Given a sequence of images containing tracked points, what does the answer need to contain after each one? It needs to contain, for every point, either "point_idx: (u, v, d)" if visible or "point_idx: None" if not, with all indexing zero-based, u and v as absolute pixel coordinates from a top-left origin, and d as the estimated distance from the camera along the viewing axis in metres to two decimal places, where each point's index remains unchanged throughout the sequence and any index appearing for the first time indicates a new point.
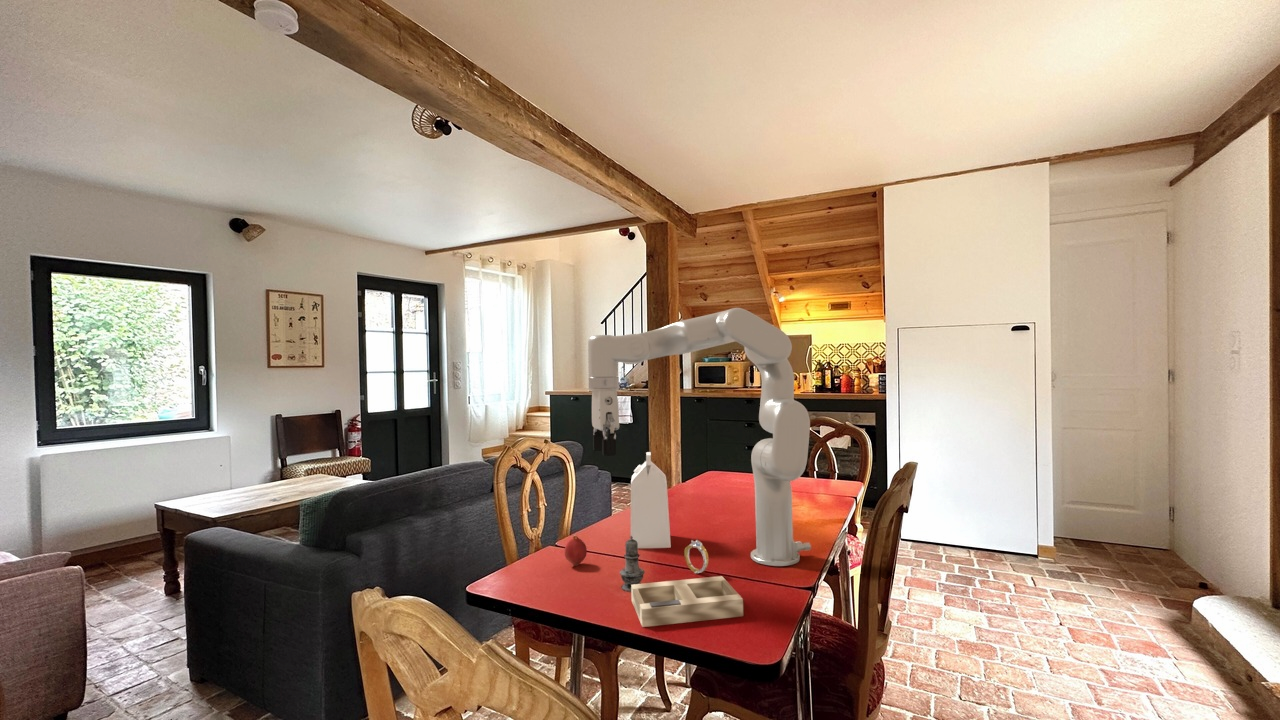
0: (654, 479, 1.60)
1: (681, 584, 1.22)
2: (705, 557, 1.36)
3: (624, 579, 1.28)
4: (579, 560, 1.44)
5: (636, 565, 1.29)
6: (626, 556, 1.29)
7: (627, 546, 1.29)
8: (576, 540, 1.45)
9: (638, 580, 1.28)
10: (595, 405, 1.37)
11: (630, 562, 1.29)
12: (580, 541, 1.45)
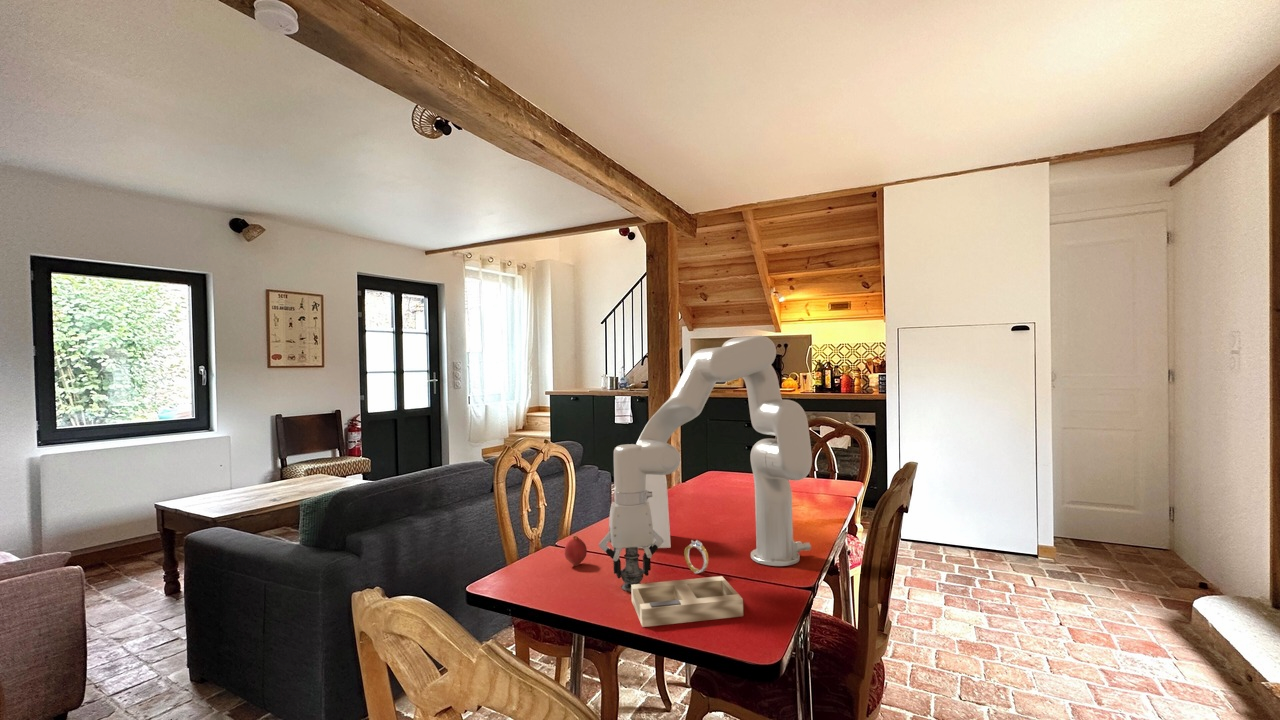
0: (654, 479, 1.60)
1: (681, 584, 1.22)
2: (705, 557, 1.36)
3: (624, 579, 1.28)
4: (579, 560, 1.44)
5: (636, 565, 1.29)
6: (626, 556, 1.29)
7: None
8: (576, 540, 1.45)
9: (638, 580, 1.28)
10: (638, 521, 1.28)
11: (630, 562, 1.29)
12: (580, 541, 1.45)
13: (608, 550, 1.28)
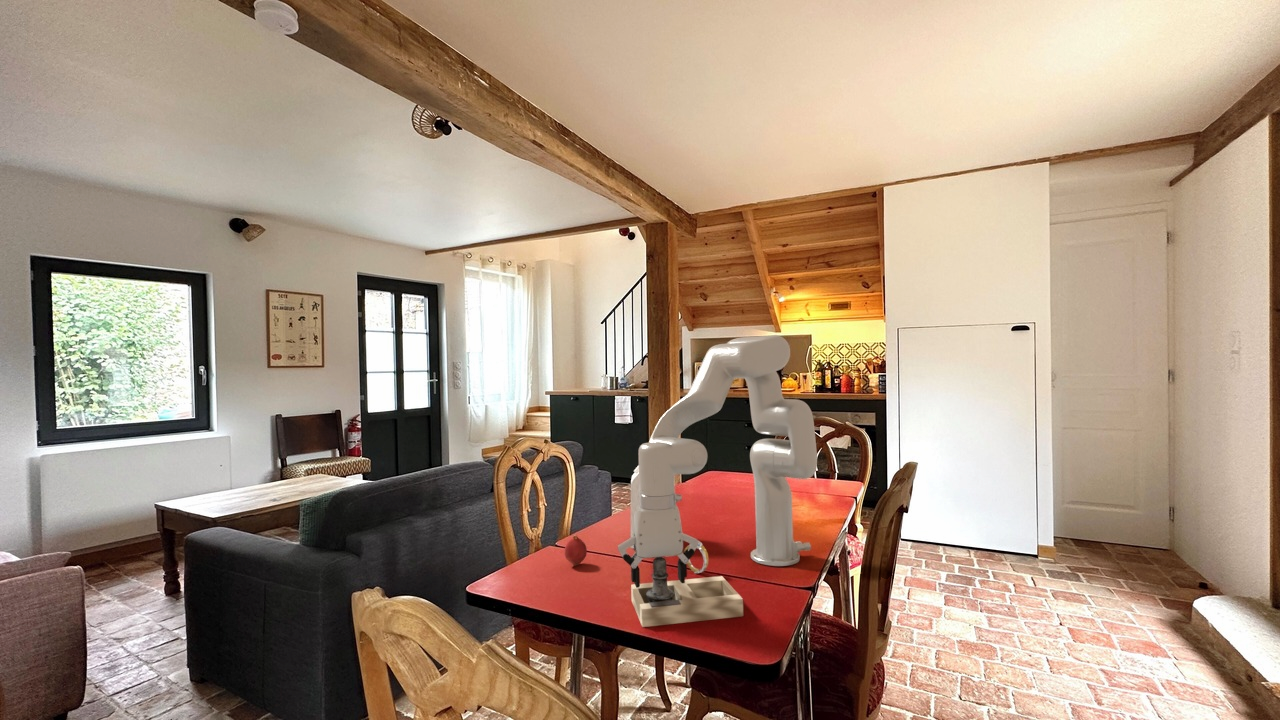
0: None
1: (681, 584, 1.22)
2: (705, 557, 1.36)
3: None
4: (579, 560, 1.44)
5: (665, 586, 1.16)
6: (654, 576, 1.16)
7: (655, 565, 1.16)
8: (576, 540, 1.45)
9: None
10: (666, 528, 1.15)
11: (658, 583, 1.16)
12: (580, 541, 1.45)
13: (625, 556, 1.15)
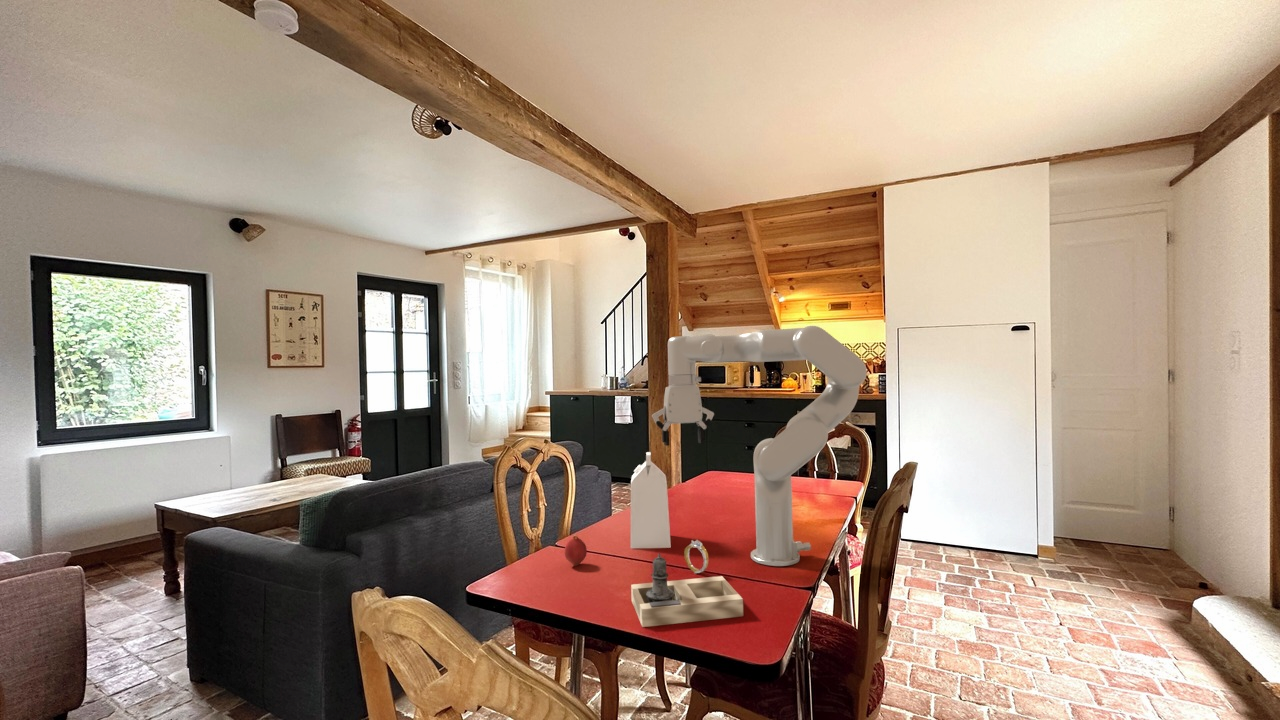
0: (654, 479, 1.60)
1: (681, 584, 1.22)
2: (705, 557, 1.36)
3: None
4: (579, 560, 1.44)
5: (665, 586, 1.16)
6: (654, 576, 1.16)
7: (655, 565, 1.16)
8: (576, 540, 1.45)
9: None
10: (689, 400, 1.50)
11: (658, 583, 1.16)
12: (580, 541, 1.45)
13: (658, 421, 1.50)
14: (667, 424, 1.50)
